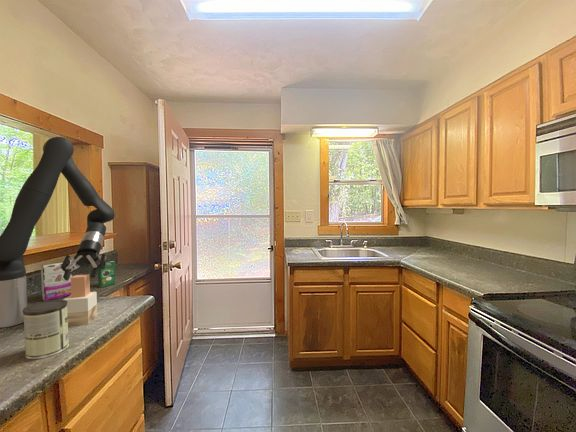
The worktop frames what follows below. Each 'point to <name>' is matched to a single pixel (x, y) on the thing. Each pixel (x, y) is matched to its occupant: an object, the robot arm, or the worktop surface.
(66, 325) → the coffee can
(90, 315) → the oak tower block
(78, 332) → the worktop surface
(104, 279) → the coffee box
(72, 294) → the peach block
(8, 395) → the worktop surface
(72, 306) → the cream tower block
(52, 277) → the candy bar box
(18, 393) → the worktop surface
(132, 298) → the worktop surface
